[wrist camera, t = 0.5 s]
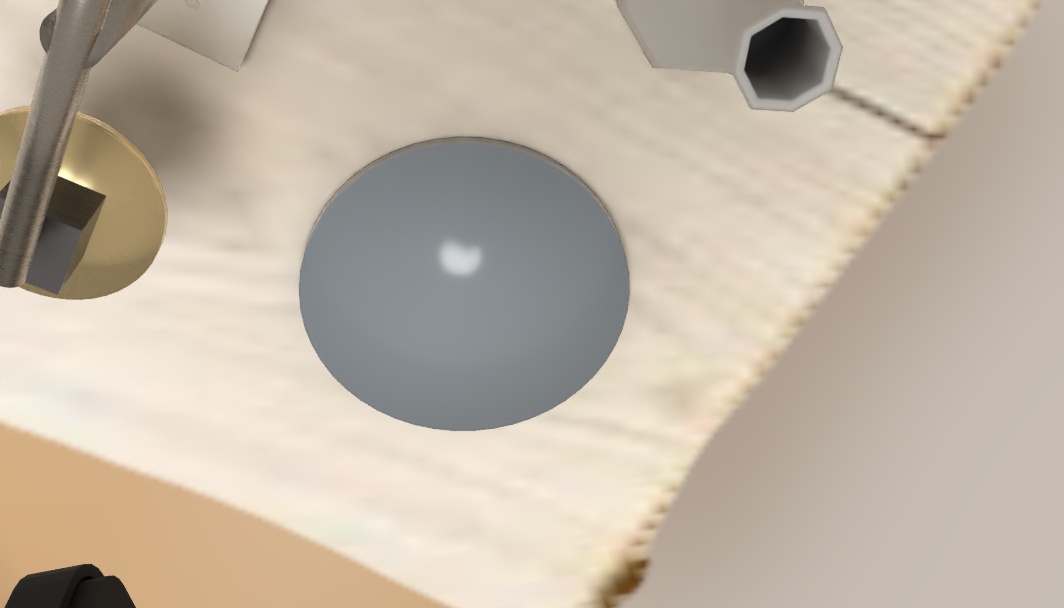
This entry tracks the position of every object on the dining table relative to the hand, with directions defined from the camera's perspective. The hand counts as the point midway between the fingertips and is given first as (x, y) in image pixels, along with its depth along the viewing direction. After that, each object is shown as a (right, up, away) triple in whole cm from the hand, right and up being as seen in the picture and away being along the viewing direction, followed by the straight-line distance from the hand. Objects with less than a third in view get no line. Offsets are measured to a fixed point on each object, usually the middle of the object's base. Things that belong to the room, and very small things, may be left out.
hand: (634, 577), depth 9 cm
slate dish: (-4, +3, +34) cm, 34 cm away
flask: (+6, +15, +28) cm, 32 cm away
